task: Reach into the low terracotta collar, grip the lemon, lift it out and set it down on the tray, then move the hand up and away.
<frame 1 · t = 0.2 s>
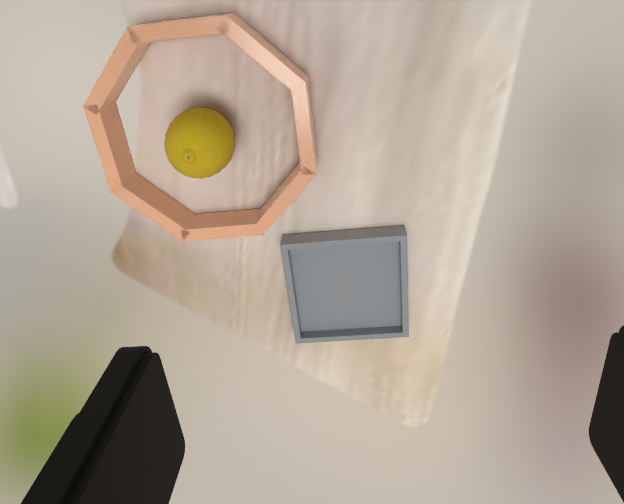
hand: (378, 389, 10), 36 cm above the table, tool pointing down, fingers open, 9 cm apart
tray: (347, 281, 51), on the table
collar: (211, 130, 44), on the table
lemon: (211, 129, 45), resting in collar
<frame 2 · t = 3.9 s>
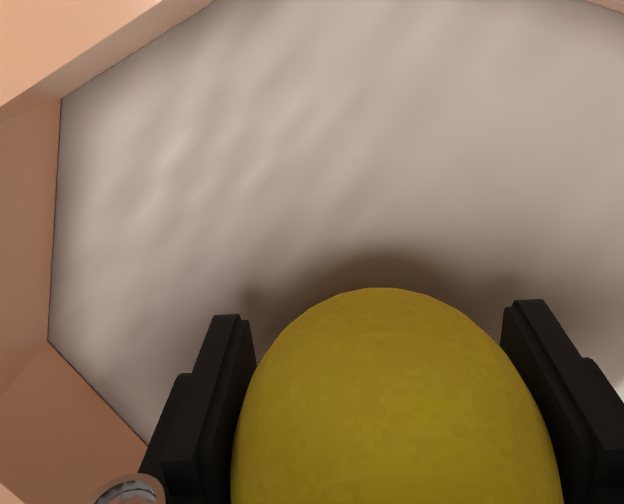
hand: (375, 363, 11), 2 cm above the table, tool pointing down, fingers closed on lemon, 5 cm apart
collar: (371, 323, 12), on the table
lemon: (370, 318, 13), resting in collar, touching gripper
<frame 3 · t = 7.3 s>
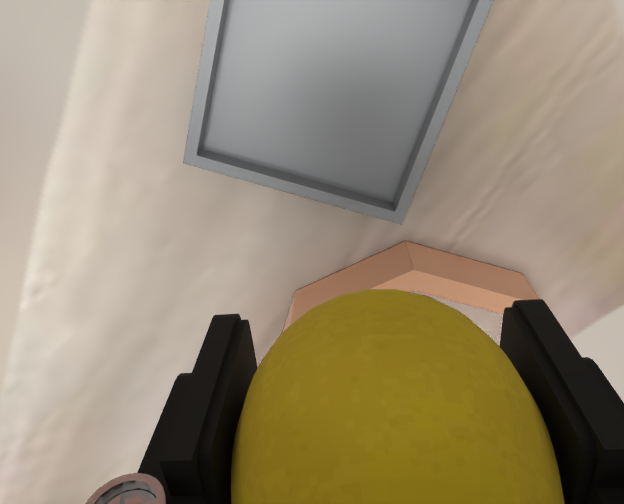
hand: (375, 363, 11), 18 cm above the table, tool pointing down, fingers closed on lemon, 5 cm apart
tray: (327, 73, 25), on the table
collar: (409, 369, 34), on the table
lemon: (371, 320, 13), point 16 cm above the table, touching gripper
when the fingers open (4 cm above the table, at t = 11.0 s): lemon drops 2 cm, resting on tray.
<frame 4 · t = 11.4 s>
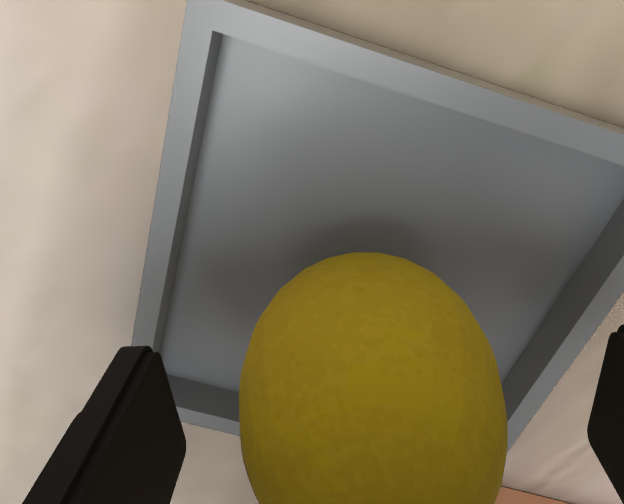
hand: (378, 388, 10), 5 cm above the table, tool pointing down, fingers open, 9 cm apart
tray: (365, 265, 15), on the table
lemon: (358, 285, 14), point 1 cm above the table, touching tray
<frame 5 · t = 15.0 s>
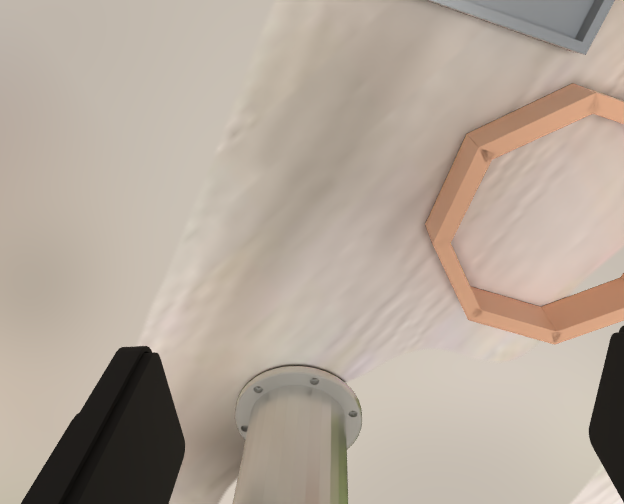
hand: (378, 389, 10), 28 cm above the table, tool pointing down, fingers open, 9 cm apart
collar: (553, 215, 39), on the table
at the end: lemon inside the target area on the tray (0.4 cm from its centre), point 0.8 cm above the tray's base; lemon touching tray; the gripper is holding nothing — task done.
